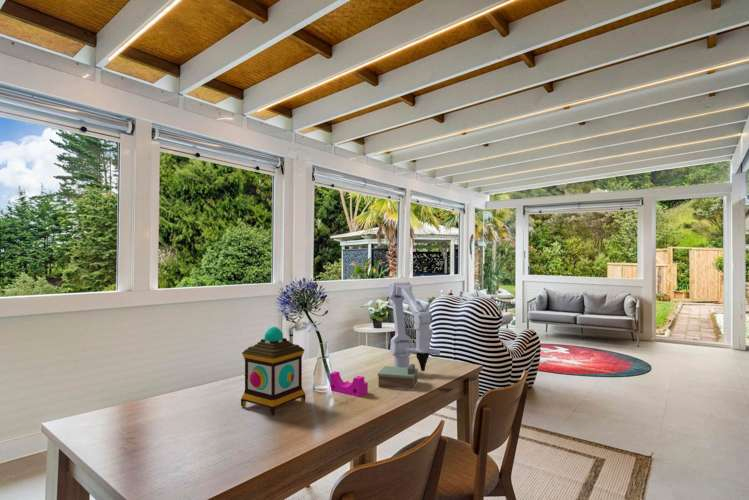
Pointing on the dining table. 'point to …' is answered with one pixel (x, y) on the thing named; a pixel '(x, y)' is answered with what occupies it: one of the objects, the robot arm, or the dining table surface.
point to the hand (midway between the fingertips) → (423, 370)
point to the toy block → (348, 385)
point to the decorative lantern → (273, 371)
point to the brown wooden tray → (397, 382)
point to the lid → (399, 371)
